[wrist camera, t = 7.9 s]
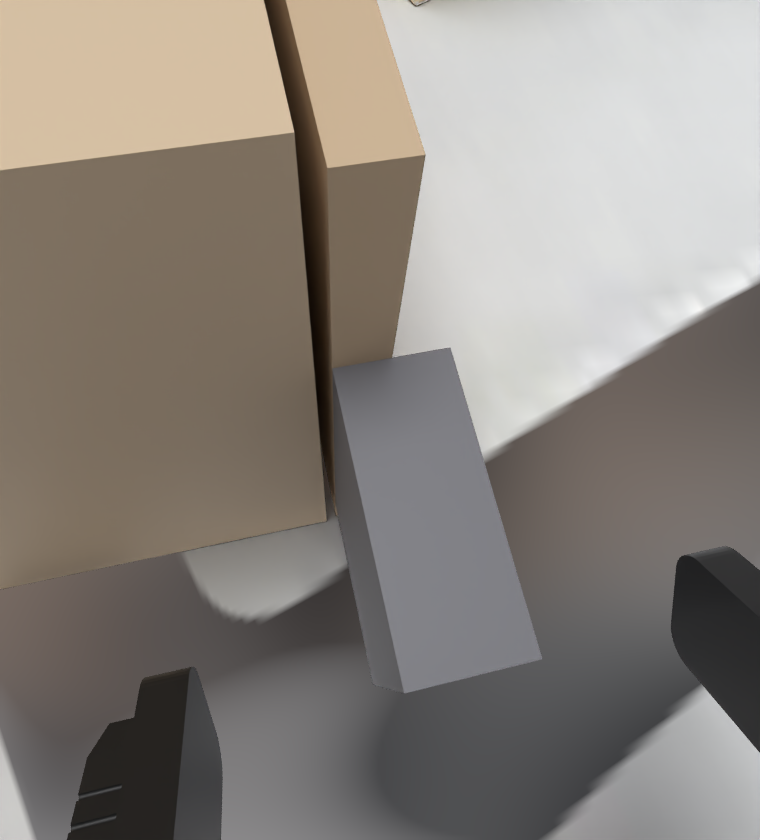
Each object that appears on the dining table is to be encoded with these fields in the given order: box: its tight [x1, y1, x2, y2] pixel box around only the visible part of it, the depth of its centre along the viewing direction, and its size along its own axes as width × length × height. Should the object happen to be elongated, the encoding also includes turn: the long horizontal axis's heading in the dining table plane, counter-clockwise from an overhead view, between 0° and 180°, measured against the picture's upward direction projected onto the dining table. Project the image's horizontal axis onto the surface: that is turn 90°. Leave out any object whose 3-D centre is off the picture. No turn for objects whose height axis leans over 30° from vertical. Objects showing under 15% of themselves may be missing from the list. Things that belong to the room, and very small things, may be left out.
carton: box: [0, 0, 327, 590], centre depth 15 cm, size 16×12×16 cm
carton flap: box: [264, 0, 542, 693], centre depth 15 cm, size 21×2×15 cm, turn 13°
